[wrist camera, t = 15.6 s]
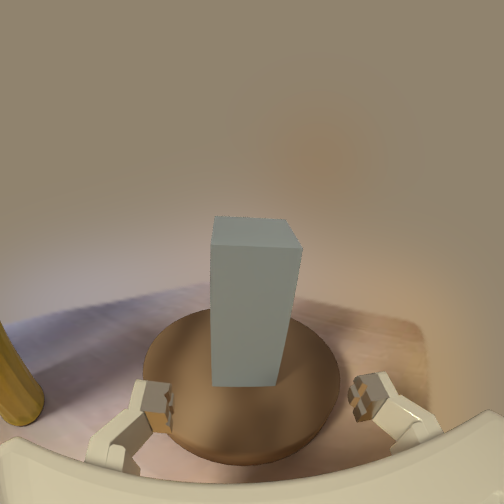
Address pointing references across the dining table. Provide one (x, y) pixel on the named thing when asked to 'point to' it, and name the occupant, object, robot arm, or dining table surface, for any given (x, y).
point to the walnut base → (243, 395)
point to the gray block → (251, 298)
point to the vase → (17, 387)
